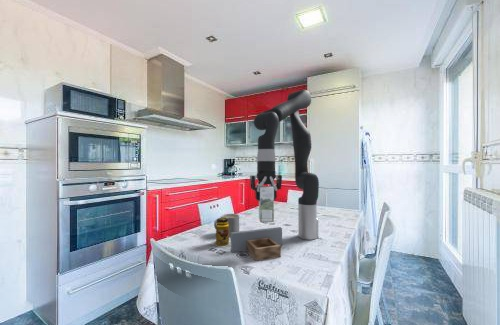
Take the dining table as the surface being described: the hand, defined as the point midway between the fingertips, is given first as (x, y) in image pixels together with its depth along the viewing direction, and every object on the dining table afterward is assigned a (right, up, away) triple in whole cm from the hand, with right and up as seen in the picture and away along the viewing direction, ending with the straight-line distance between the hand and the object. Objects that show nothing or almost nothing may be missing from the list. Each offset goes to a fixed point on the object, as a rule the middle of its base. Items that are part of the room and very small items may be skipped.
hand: (266, 199), depth 94 cm
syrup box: (0, -9, 0) cm, 9 cm away
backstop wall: (-3, -23, +7) cm, 24 cm away
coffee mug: (-19, -23, +27) cm, 41 cm away
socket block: (-1, -23, +1) cm, 23 cm away
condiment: (-20, -23, +13) cm, 33 cm away
